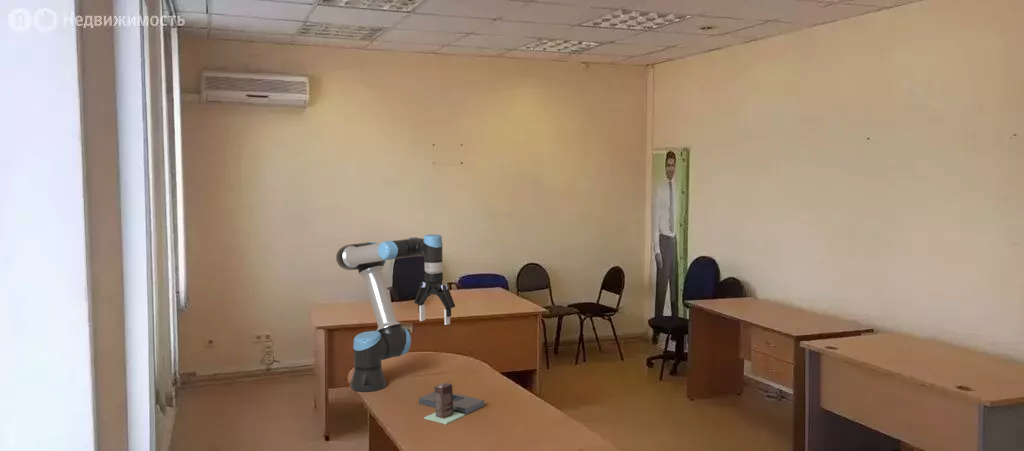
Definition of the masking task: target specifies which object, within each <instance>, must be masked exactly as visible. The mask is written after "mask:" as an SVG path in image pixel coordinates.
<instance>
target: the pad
mask: <svg viewBox="0 0 1024 451" xmlns="http://www.w3.org/2000/svg"><path fill="white" fill-rule="evenodd" d="M464 417H466V415H465V414H461V413H457V412H453V414H452V415H450V416H448V417H446V418H439V417H436V411H435V412H433V413H431V414H428V415H426V416H424V418H423V419H425V420H428V421H432V422H436V423H440V424H442V425H443V424H444V425H448V424H451V423H453V422H456V421H457V420H459V419H461V418H464Z"/></svg>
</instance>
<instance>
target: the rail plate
mask: <svg viewBox="0 0 1024 451" xmlns="http://www.w3.org/2000/svg"><path fill="white" fill-rule="evenodd" d="M418 404H420V405H423V406H427V407H431V408H435V391H433V392H430V393H427V394H425V395H422V396H419V397H418ZM484 407H485V399H480V398H478V397H477V398H476V397H471V396H467V395H463V394H458V393H454V392H453V412H457V413H461V414H465V416H467V415H468V414H470V413H473V412H475V411H477V410H479V409H482V408H484Z"/></svg>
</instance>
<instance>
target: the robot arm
mask: <svg viewBox="0 0 1024 451" xmlns="http://www.w3.org/2000/svg"><path fill="white" fill-rule="evenodd" d="M443 246H444V245H443V237H442V235H441V234H425V235H424V237H423V238H421V237H417V236H416V237H408V238H405V239H397V240H386V241H382V242H373V241H371V242H370V241H367V242H362V243H354V244H353V243H352V244H346V245H344V246H342V247H340V248H339V249H338V250H337V252H336V256H335V258H336V263H337V264H338V266H339V267H340V268H342V269H344V270H345V271H347V270H348V271H355V270H357V271H358V274H359V276H360V277H362V278H363V279H364V283H365V287H366V289H367V294H368V297H369V300H370V303H371V307H372V310H373V314H374V318H375V321H376V324H377V329H376V330H370V331H364V332H360V333H358V334H357V335H355V337H354V338H353V345H352V346H353V368H354V369H353V373H352V378H351V381H350V389H351V390H352V391H354V392H364V393H365V392H374V391H380V390H382V389H384V388H386V386H387V379H386V378H385V374H384V371H383V369H382V361H383V360H384V361H385V360H388V359H391V358H392V359H393V358H396V357H400V356H403V355H406V354H407V353H408V352H409V350H410V348H411V345H412V337H411V333H410V332H409V330H408V329H407V328H403V326H402V323H401V322H399V321H397V319H396V315H395V312H394V307H393V304H392V301H391V297H390V293H389V291H388V290H389V289H388V287H387V283H386V281H385V277H384V274H383V271H384V269H385V264H386V261H389V260H391V261H392V260H396V259H398V260H399V259H404V258H412V257H424V260H423V262H424V272H425V273H424V281H422V282H420V283H419V288H418V291H417V293H416V296H415V299H414V302H413V303H414V304H416V305H417V307H418V310H417V311H418V313H419V321H420V322H424V321H426V304H425V302H426V301H427V299H428V298H429V297H430V296H431V295H434V296H437V297H438V298H439V300H440V301H441V303H442V304H443V306H444V309H443V312H444V314H443V315H444V317H443V318H444V325H445V326H448V325H451V316H452V308H455V307H456V304H455V302H454V300H453V295H452V294H451V291H450V287H449V286H450V285H449V284H443V281H444V272H443V270H444V268H443V267H444V266H443V265H444V263H443V262H444V261H443Z"/></svg>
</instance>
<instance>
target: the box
mask: <svg viewBox="0 0 1024 451" xmlns="http://www.w3.org/2000/svg"><path fill="white" fill-rule="evenodd" d="M433 387H434V392H435V407H434V408H435V412H436V417H439V418H446V417H448V416H450V415H452V414H453V403H454V401H453V393H454V392H453V384H452V383H449V382H442V383H441V384H436V385H435V386H433Z"/></svg>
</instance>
